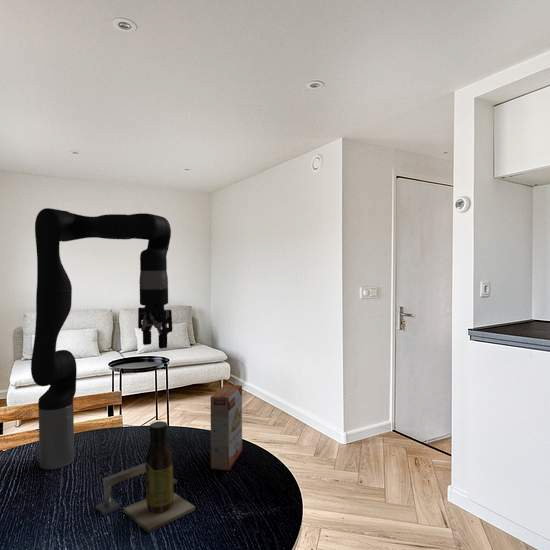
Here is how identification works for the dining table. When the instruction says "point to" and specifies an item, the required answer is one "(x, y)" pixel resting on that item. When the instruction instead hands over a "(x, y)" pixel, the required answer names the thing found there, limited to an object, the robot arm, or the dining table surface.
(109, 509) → the grey bar handle
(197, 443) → the dining table surface
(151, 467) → the sauce bottle
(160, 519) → the birch pad
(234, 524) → the dining table surface
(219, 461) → the cracker box
